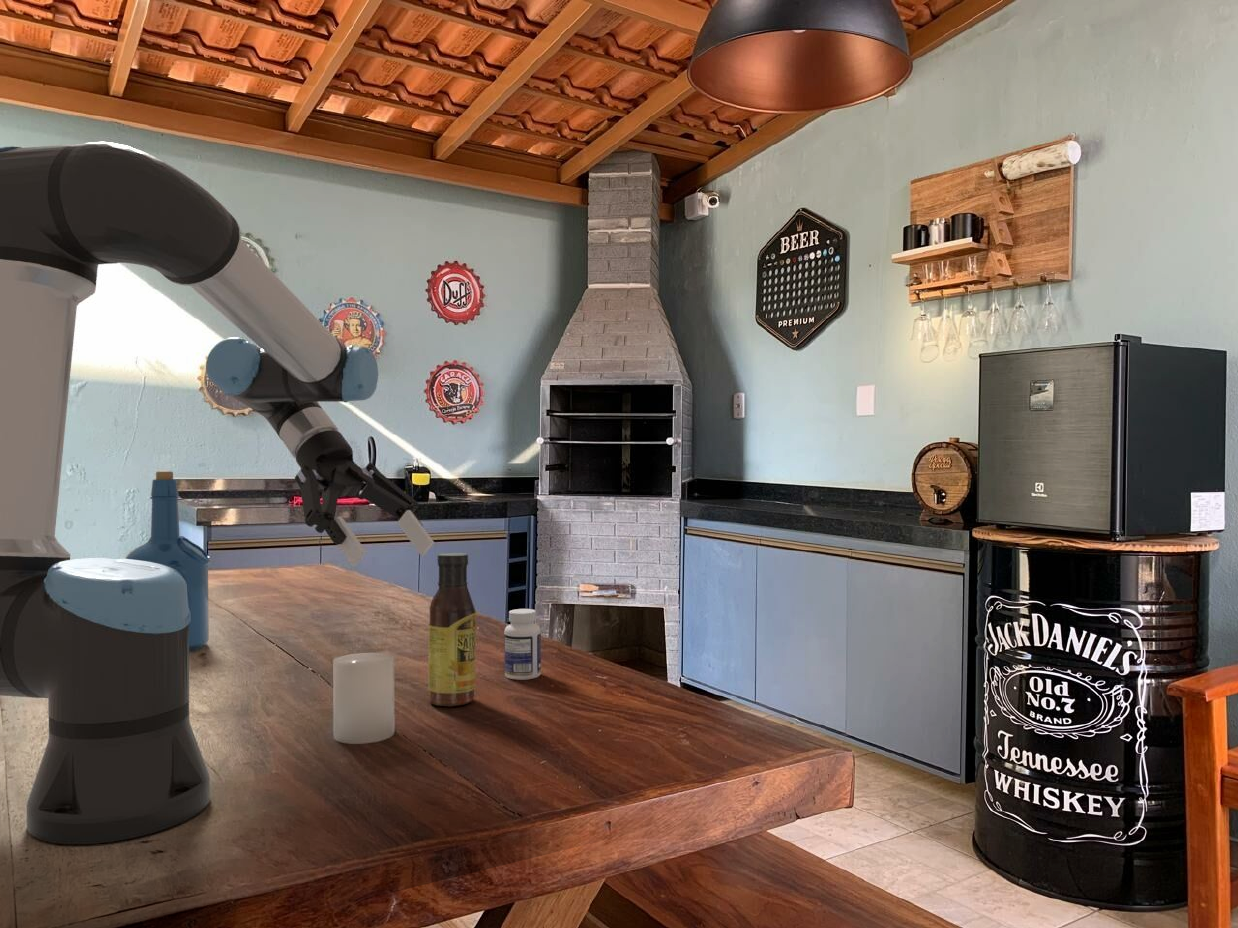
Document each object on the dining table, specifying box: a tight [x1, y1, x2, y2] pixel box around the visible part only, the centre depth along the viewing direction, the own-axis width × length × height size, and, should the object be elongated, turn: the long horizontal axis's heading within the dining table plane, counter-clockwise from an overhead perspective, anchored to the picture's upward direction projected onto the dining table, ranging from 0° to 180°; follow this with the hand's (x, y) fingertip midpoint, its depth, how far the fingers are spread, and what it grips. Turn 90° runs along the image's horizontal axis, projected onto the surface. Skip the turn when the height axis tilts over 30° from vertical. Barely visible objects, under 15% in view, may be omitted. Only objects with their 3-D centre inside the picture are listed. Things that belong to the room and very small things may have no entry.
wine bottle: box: [124, 470, 212, 653], centre depth 157 cm, size 14×13×30 cm
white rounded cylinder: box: [332, 652, 395, 745], centre depth 111 cm, size 7×7×9 cm
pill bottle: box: [503, 608, 542, 681], centre depth 139 cm, size 5×5×10 cm
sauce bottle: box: [427, 552, 477, 708], centre depth 125 cm, size 7×6×20 cm
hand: (395, 554), depth 130 cm, fingers open, 13 cm apart
